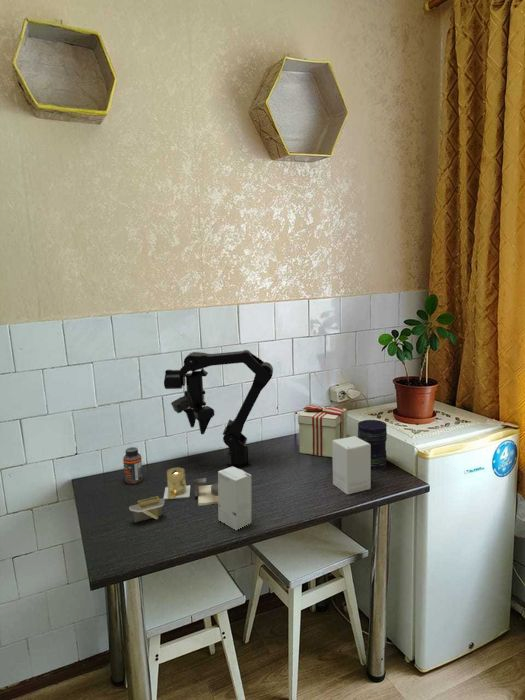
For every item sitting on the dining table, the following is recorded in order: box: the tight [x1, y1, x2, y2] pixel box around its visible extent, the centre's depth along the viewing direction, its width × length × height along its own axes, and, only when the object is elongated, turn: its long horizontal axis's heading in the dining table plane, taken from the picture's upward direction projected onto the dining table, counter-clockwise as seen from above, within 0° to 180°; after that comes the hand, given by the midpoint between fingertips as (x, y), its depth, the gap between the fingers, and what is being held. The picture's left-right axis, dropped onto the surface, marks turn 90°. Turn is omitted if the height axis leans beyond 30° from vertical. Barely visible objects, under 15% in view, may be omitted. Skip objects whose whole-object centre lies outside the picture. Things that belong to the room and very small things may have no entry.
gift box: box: [297, 403, 348, 458], centre depth 191 cm, size 17×18×17 cm
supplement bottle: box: [122, 446, 144, 485], centre depth 168 cm, size 6×6×11 cm
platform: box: [128, 495, 165, 523], centre depth 142 cm, size 12×18×7 cm, turn 117°
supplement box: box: [332, 435, 372, 495], centre depth 157 cm, size 9×9×15 cm
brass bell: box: [166, 466, 187, 500], centre depth 158 cm, size 10×6×7 cm, turn 166°
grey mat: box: [163, 484, 191, 500], centre depth 159 cm, size 8×8×1 cm
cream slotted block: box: [193, 477, 218, 507], centre depth 156 cm, size 14×12×5 cm
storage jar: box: [357, 419, 388, 472], centre depth 173 cm, size 10×10×15 cm
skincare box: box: [217, 466, 252, 531], centre depth 138 cm, size 8×6×15 cm
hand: (197, 430), depth 178 cm, fingers open, 9 cm apart
